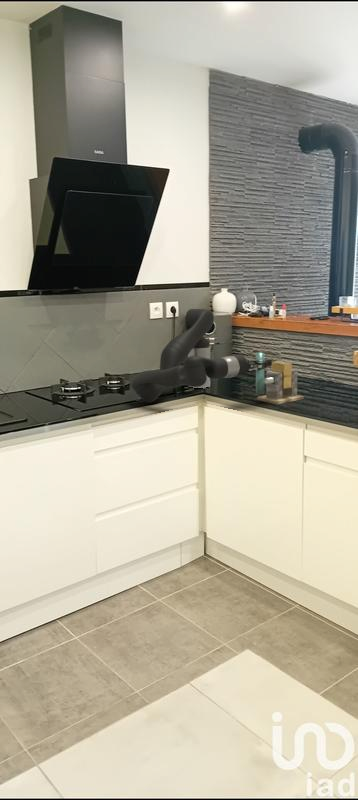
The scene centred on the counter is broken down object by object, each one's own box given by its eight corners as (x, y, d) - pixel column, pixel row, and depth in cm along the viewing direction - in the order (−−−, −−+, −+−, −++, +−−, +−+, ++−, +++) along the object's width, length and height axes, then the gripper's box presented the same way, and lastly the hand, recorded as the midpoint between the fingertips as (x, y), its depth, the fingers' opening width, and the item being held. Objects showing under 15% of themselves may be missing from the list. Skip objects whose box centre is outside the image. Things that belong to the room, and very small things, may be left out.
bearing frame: (277, 404, 230) (277, 375, 227) (257, 399, 238) (257, 371, 236) (303, 398, 237) (304, 370, 235) (283, 394, 246) (283, 367, 244)
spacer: (283, 388, 233) (284, 364, 231) (270, 385, 239) (271, 362, 237) (291, 387, 235) (291, 363, 233) (278, 384, 241) (278, 360, 239)
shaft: (259, 394, 229) (260, 353, 226) (254, 392, 232) (254, 352, 228) (293, 387, 239) (294, 349, 236) (287, 386, 241) (288, 348, 238)
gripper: (218, 374, 227) (253, 369, 237) (245, 379, 216) (280, 374, 226) (218, 354, 226) (253, 350, 235) (245, 358, 214) (280, 353, 224)
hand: (266, 362), depth 230 cm, fingers open, 4 cm apart
